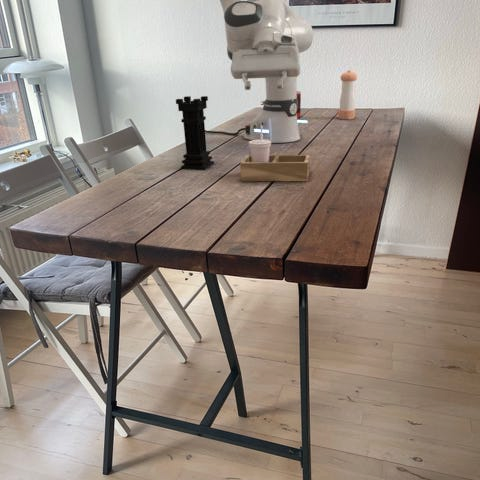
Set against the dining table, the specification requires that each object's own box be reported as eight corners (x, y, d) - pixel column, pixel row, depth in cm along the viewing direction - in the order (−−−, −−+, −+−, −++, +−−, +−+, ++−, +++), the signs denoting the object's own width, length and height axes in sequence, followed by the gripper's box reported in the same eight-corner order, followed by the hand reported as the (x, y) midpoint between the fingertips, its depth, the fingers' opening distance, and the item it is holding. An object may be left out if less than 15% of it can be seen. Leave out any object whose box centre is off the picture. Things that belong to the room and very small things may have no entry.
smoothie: (270, 179, 141) (269, 127, 134) (247, 179, 142) (245, 127, 135) (273, 173, 146) (272, 123, 139) (251, 173, 147) (250, 123, 140)
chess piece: (214, 163, 160) (209, 96, 150) (204, 169, 154) (198, 99, 144) (191, 162, 163) (185, 96, 152) (181, 168, 156) (173, 99, 146)
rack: (246, 172, 149) (246, 155, 146) (309, 172, 146) (309, 154, 143) (241, 181, 141) (240, 163, 138) (307, 181, 137) (307, 162, 135)
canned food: (281, 117, 234) (281, 91, 228) (298, 116, 234) (299, 90, 229) (284, 119, 227) (284, 93, 222) (301, 118, 228) (302, 92, 222)
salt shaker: (342, 116, 228) (345, 69, 218) (357, 117, 224) (360, 69, 215) (335, 118, 223) (337, 71, 213) (350, 119, 219) (353, 71, 210)
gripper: (231, 41, 145) (226, 81, 142) (301, 37, 142) (297, 78, 138) (235, 57, 151) (230, 96, 148) (302, 54, 148) (299, 94, 144)
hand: (263, 87), depth 143 cm, fingers open, 8 cm apart
